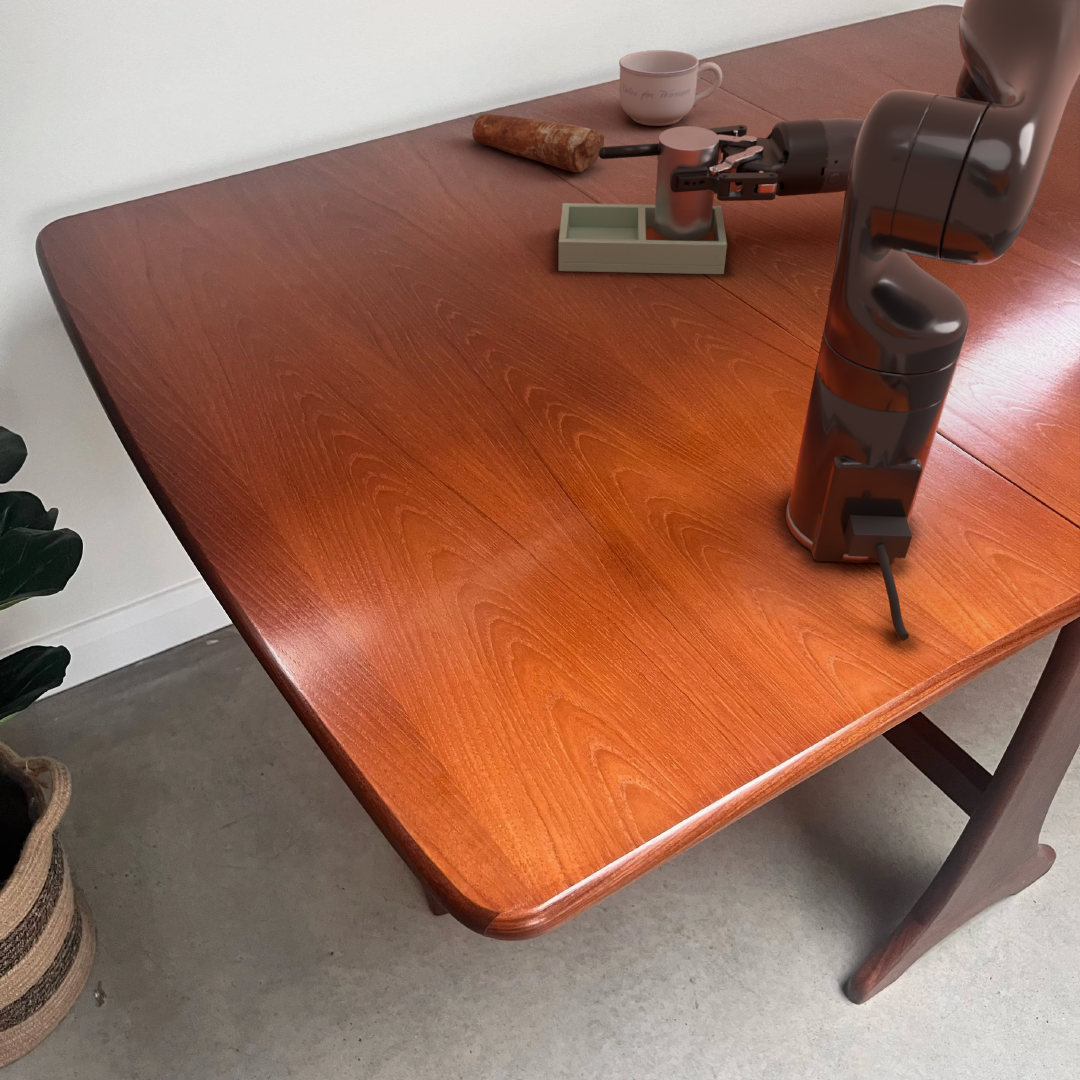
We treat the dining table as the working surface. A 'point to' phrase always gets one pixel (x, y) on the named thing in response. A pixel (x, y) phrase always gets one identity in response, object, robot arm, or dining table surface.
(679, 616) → the dining table surface
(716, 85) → the teacup
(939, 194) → the robot arm
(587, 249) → the divided box
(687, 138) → the handled metal cylinder
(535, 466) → the dining table surface
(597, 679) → the dining table surface
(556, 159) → the bread
